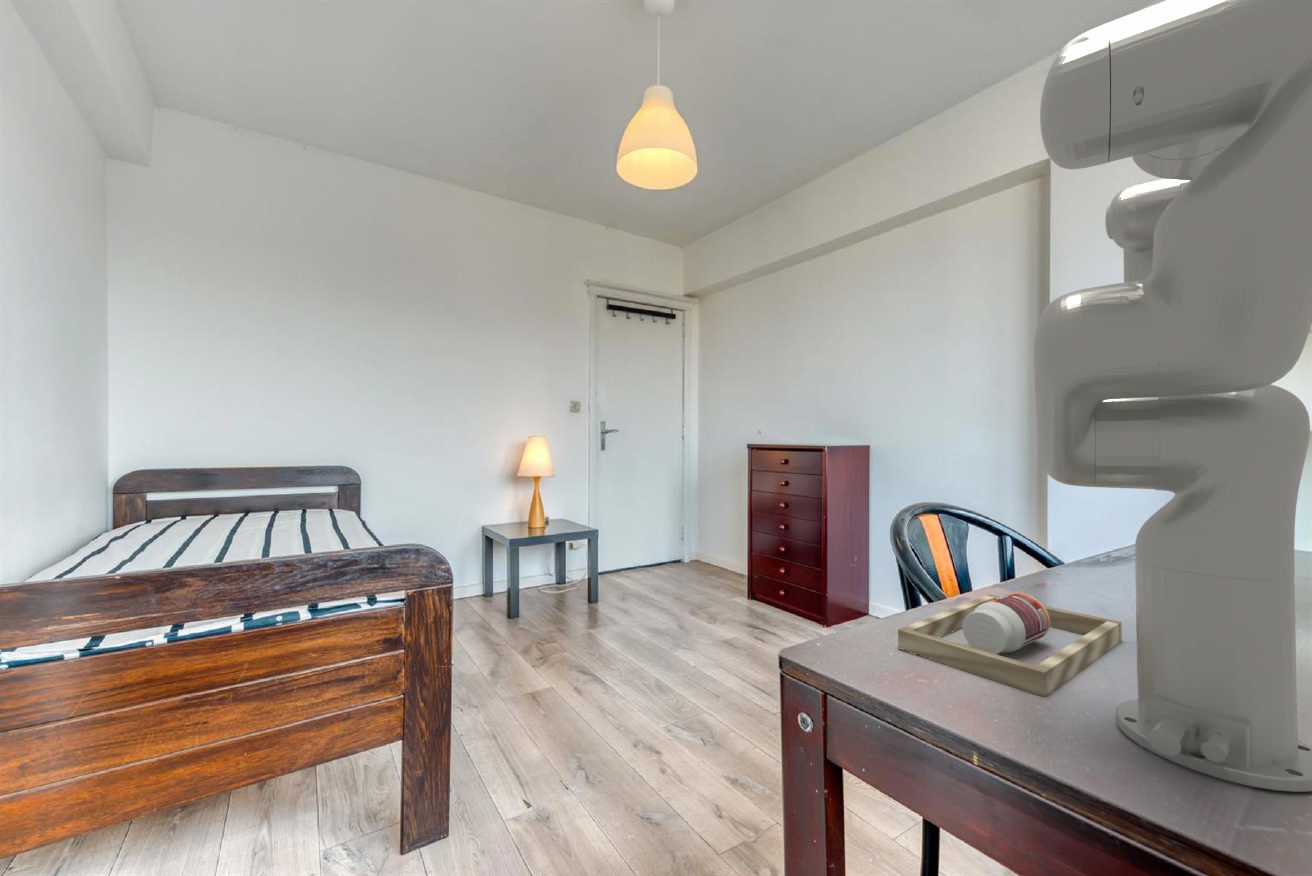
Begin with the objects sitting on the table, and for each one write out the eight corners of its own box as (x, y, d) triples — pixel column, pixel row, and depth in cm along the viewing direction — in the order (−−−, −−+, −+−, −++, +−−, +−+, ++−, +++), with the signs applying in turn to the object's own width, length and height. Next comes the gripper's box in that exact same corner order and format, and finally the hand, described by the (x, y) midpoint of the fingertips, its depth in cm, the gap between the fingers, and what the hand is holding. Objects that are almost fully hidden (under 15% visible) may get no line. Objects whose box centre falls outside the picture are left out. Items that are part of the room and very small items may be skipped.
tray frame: (1044, 696, 55) (1044, 672, 55) (898, 648, 68) (898, 629, 68) (1121, 640, 70) (1121, 621, 70) (989, 610, 83) (989, 594, 83)
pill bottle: (1012, 582, 73) (970, 596, 66) (1061, 612, 68) (1020, 630, 62) (992, 618, 75) (949, 634, 69) (1038, 649, 70) (996, 670, 64)
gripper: (1195, 281, 60) (1198, 443, 60) (1214, 300, 69) (1216, 440, 69) (1110, 296, 66) (1112, 443, 66) (1137, 311, 75) (1139, 441, 75)
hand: (1165, 441), depth 68 cm, fingers closed
